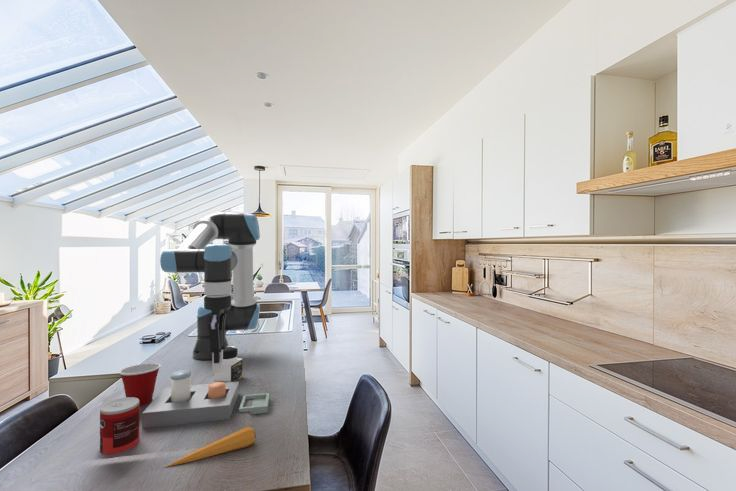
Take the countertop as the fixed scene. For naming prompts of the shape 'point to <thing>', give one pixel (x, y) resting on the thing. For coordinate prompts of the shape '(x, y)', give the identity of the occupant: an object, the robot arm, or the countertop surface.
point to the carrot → (221, 446)
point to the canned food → (119, 425)
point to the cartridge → (180, 386)
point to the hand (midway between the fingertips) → (217, 371)
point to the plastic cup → (140, 381)
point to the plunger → (217, 390)
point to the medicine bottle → (230, 366)
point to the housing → (190, 407)
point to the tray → (255, 403)
